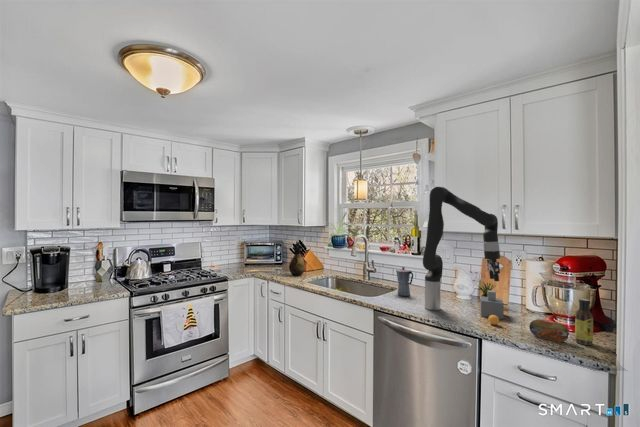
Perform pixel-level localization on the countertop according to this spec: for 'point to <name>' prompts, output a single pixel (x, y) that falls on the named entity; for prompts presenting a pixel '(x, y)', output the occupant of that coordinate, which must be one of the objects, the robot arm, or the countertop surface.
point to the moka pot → (404, 282)
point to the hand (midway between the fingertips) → (494, 280)
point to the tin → (549, 330)
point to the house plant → (486, 288)
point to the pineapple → (297, 262)
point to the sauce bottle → (584, 323)
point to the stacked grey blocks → (491, 305)
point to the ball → (493, 319)
